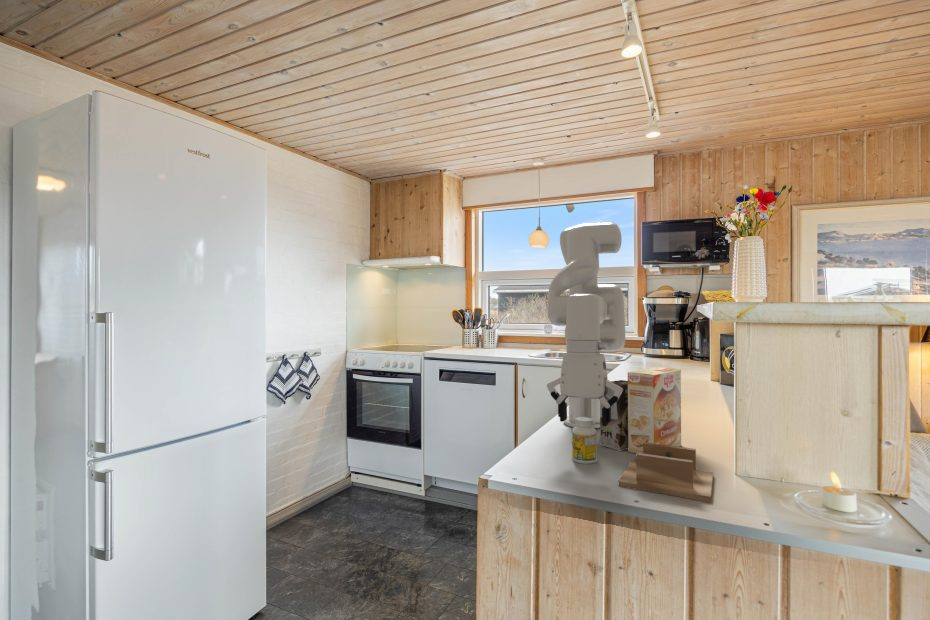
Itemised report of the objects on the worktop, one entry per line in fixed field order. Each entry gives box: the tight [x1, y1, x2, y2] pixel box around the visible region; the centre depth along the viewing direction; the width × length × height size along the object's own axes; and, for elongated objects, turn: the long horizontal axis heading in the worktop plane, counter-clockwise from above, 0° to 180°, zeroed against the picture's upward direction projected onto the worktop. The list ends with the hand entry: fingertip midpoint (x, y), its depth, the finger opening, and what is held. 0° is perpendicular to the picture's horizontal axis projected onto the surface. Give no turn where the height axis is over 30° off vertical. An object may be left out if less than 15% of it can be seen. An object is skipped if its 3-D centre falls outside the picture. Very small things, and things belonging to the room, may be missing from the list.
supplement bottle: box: [571, 417, 598, 465], centre depth 105 cm, size 5×5×10 cm
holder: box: [617, 442, 714, 503], centre depth 92 cm, size 14×16×6 cm
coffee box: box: [599, 379, 628, 452], centre depth 117 cm, size 9×6×16 cm
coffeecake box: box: [627, 366, 682, 455], centre depth 113 cm, size 15×7×20 cm, turn 132°
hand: (584, 422), depth 105 cm, fingers open, 9 cm apart
